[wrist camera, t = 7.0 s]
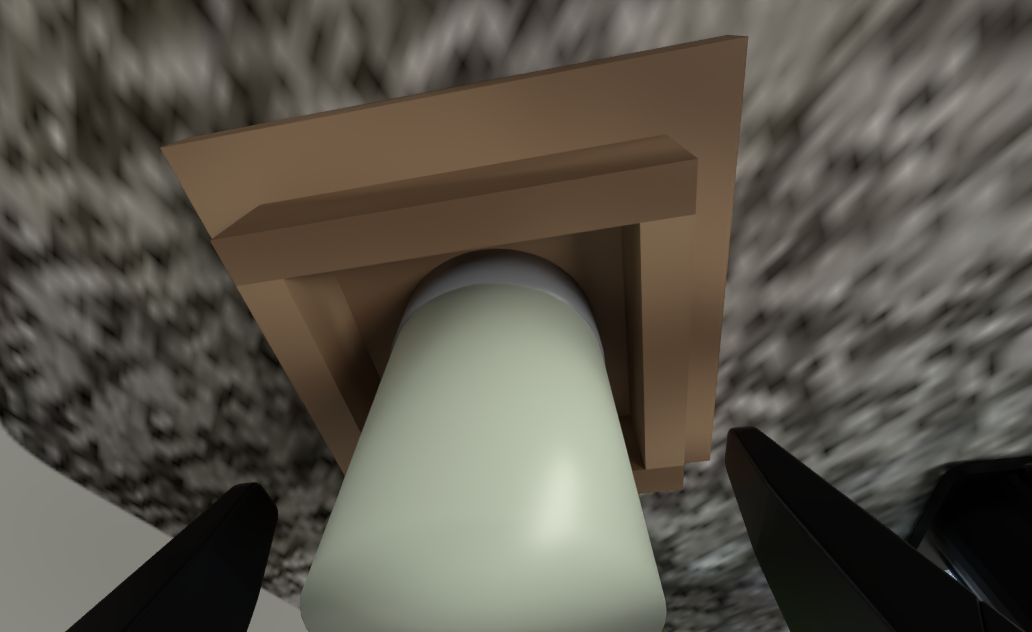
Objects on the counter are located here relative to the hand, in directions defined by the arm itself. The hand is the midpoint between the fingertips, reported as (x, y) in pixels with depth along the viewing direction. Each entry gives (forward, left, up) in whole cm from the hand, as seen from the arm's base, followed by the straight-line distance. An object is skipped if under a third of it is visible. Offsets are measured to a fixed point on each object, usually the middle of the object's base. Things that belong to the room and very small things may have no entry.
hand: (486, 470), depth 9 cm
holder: (0, 0, -5) cm, 5 cm away
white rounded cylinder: (0, 0, -4) cm, 4 cm away
